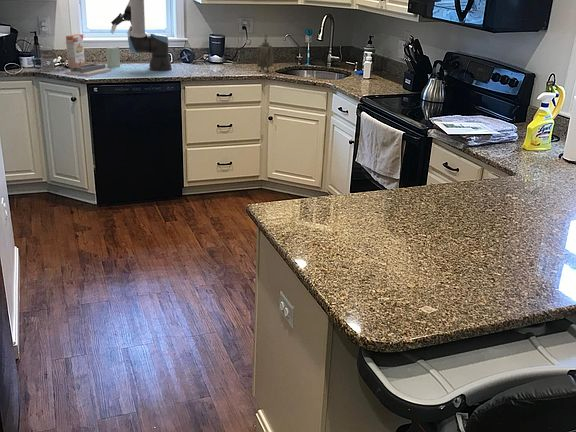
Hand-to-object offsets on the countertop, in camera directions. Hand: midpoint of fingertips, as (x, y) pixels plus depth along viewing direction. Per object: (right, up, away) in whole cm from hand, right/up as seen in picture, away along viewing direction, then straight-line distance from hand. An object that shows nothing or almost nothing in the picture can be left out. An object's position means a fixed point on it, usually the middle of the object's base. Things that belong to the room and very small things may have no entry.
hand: (119, 33), depth 433 cm
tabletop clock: (+101, -25, +7) cm, 104 cm away
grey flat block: (-14, -32, -24) cm, 43 cm away
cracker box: (-28, -25, -6) cm, 38 cm away
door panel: (-4, -23, -1) cm, 24 cm away
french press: (-40, -31, -24) cm, 56 cm away
